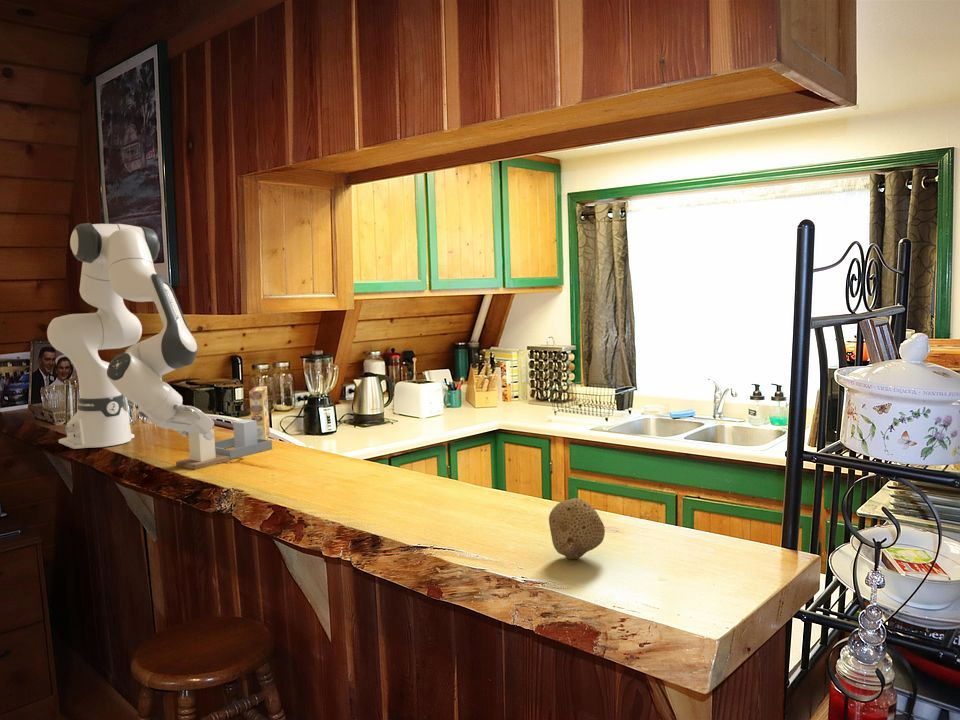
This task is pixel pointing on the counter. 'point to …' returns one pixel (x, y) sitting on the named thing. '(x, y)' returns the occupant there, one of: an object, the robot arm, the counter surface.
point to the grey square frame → (241, 448)
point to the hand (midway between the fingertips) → (199, 436)
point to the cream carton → (201, 447)
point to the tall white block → (245, 433)
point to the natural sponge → (575, 528)
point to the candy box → (260, 411)
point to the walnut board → (197, 464)
